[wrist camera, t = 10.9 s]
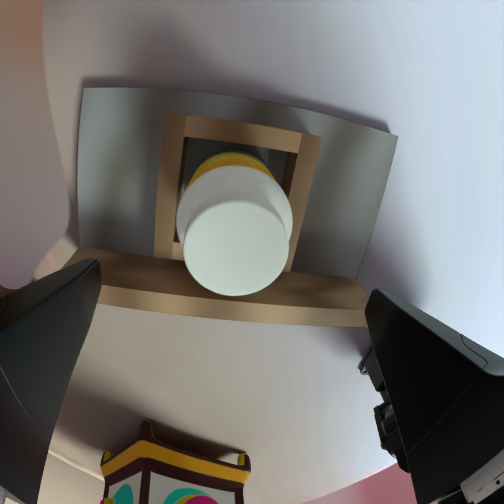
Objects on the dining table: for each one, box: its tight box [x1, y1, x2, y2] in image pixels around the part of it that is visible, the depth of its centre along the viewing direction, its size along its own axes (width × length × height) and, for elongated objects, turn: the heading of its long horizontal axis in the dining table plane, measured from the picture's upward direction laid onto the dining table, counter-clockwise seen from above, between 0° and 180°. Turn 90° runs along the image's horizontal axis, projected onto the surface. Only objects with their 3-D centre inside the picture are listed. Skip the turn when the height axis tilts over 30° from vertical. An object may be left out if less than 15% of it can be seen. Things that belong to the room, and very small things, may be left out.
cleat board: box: [62, 87, 398, 327], centre depth 19 cm, size 22×14×6 cm, turn 80°
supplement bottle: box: [176, 150, 293, 296], centre depth 16 cm, size 5×5×10 cm
